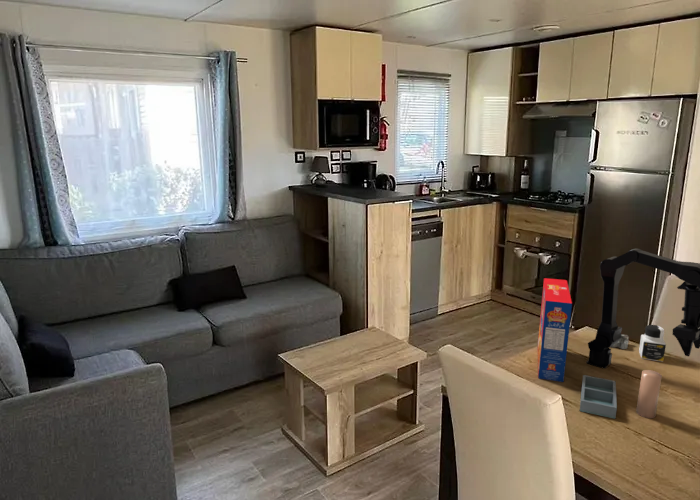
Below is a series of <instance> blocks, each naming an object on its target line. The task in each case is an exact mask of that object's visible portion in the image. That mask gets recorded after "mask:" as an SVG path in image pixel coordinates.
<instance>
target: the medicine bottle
mask: <svg viewBox="0 0 700 500" xmlns="http://www.w3.org/2000/svg"><path fill="white" fill-rule="evenodd" d="M664 337H665V329H664V328H663V327H662V326H660V325H657V324H648V325H646V326H645V330H644V334H641V335H640V341H639V346H638V347H639V349H638V352H639V356H640V358H641V359H642V360H648V361H656V362H662V363H663V362H664V359H665V355H666V354H665V353H666V346H667V344H666V342H665V340H664Z"/></svg>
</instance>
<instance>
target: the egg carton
mask: <svg viewBox="0 0 700 500" xmlns="http://www.w3.org/2000/svg"><path fill="white" fill-rule="evenodd" d="M621 336H622V338H620V339H619V341H618V342H617V343H615V344H614V345H613V346H612V347H611V348H619V349H621V350H625V349H628V345H629V335H628V334H622V333H621Z"/></svg>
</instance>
